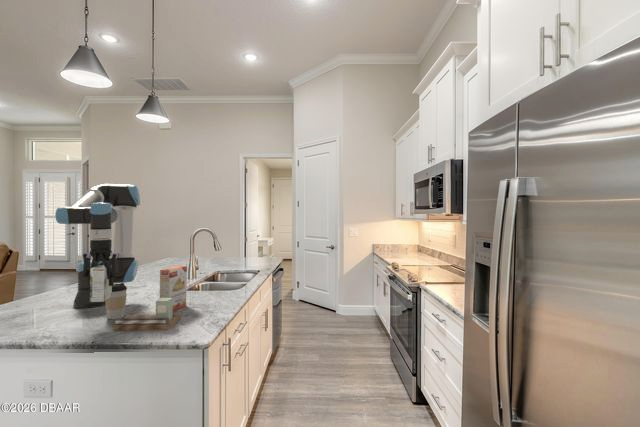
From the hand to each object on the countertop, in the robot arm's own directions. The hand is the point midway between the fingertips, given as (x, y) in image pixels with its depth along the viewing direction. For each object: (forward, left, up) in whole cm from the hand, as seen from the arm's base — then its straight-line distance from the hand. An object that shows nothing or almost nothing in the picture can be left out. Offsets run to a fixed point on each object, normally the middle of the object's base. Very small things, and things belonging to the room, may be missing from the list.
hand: (101, 293), depth 138 cm
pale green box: (+26, 0, -12) cm, 29 cm away
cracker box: (+21, +23, -14) cm, 35 cm away
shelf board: (+19, +1, -14) cm, 24 cm away
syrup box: (0, 0, -3) cm, 3 cm away
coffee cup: (-1, +12, -14) cm, 19 cm away
